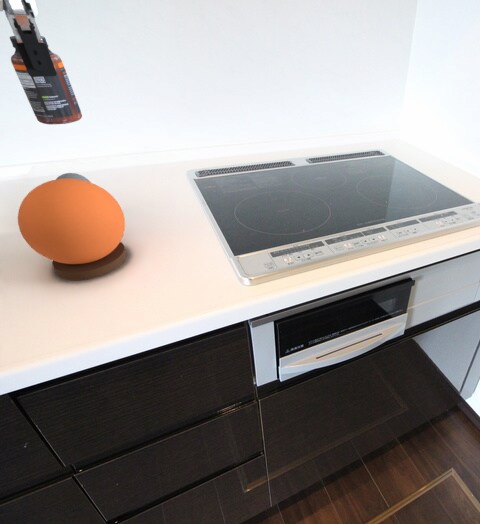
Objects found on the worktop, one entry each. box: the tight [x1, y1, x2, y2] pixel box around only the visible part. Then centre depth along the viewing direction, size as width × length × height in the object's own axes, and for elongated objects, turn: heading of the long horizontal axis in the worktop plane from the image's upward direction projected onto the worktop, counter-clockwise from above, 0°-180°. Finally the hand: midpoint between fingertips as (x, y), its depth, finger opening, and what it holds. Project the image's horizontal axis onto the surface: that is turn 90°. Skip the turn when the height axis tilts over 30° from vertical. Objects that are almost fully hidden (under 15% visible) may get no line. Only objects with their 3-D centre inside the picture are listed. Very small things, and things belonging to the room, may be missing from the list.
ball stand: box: [17, 178, 128, 281], centre depth 56 cm, size 13×13×14 cm
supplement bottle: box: [9, 35, 83, 125], centre depth 54 cm, size 6×6×11 cm
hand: (41, 71), depth 53 cm, fingers closed on supplement bottle, 6 cm apart
